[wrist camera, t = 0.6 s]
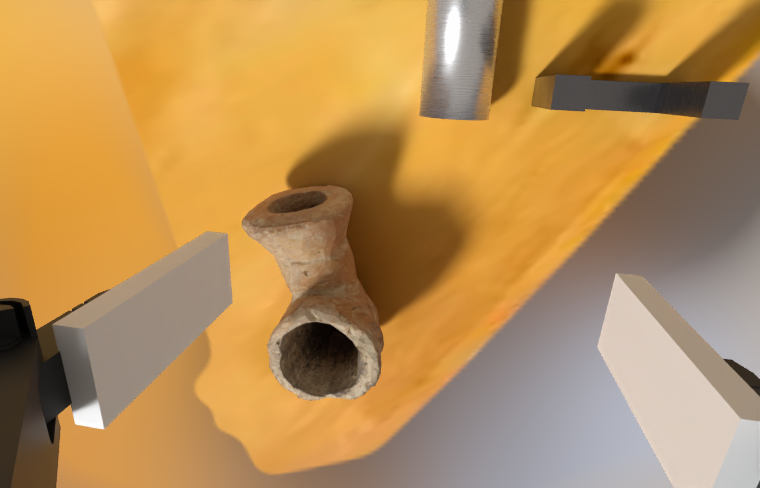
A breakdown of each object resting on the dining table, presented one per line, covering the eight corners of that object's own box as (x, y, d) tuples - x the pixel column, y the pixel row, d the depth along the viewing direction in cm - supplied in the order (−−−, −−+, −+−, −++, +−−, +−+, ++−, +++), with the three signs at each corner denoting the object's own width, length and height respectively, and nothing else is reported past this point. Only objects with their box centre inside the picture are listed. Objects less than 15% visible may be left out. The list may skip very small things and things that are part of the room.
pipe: (358, 168, 37) (326, 194, 28) (409, 335, 42) (396, 406, 32) (262, 195, 40) (203, 228, 30) (321, 351, 44) (285, 422, 35)
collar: (535, 77, 33) (556, 74, 27) (688, 84, 32) (749, 83, 25) (531, 105, 34) (550, 109, 27) (680, 113, 32) (738, 119, 26)
